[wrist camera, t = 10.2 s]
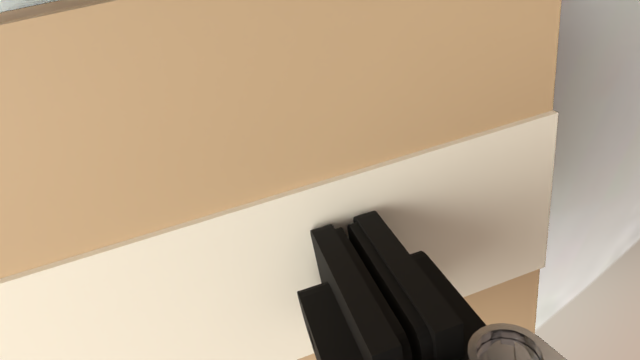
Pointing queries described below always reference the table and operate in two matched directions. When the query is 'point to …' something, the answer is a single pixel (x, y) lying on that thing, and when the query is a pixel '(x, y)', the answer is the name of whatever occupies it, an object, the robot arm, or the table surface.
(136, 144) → the lid
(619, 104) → the table surface
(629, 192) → the table surface
